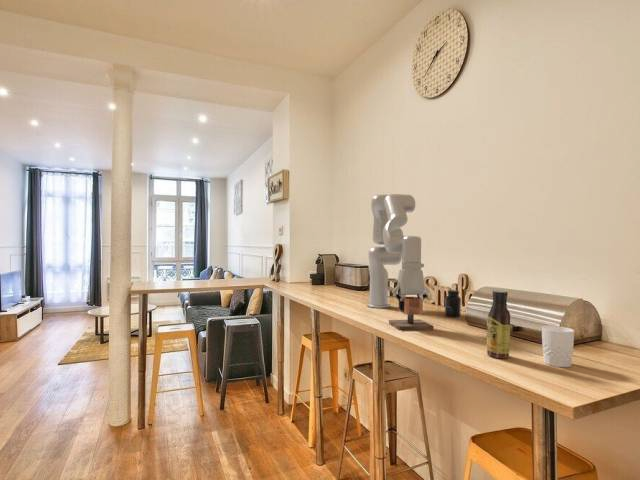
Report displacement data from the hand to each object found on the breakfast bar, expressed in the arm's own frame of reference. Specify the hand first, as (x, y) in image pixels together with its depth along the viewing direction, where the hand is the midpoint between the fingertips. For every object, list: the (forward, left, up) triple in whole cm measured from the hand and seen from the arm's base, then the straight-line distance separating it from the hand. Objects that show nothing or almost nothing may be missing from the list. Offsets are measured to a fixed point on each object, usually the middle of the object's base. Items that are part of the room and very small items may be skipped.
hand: (410, 310), depth 149 cm
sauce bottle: (+40, +11, -7) cm, 42 cm away
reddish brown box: (0, 0, -1) cm, 1 cm away
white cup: (+48, +24, -7) cm, 54 cm away
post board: (0, 0, -7) cm, 7 cm away
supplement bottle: (-19, +29, -7) cm, 35 cm away
